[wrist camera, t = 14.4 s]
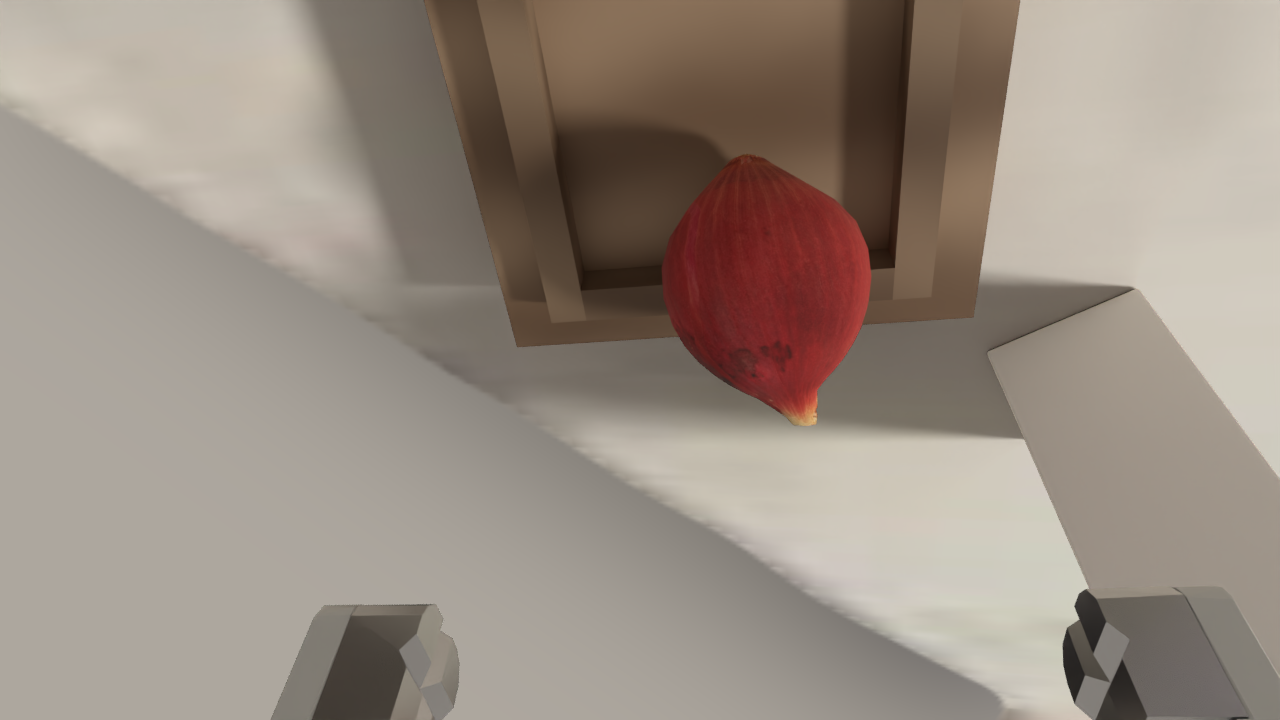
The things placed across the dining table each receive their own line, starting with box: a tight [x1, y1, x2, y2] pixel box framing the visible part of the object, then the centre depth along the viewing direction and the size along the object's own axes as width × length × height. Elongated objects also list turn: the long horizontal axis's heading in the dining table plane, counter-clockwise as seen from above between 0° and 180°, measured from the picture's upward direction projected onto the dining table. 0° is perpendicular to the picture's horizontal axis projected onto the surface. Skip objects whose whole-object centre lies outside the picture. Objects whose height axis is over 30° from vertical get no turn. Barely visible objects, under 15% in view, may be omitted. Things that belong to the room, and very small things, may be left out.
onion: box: [662, 154, 871, 426], centre depth 24 cm, size 6×6×8 cm
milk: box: [987, 289, 1280, 677], centre depth 26 cm, size 6×6×22 cm
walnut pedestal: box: [424, 0, 1020, 347], centre depth 26 cm, size 16×16×5 cm
